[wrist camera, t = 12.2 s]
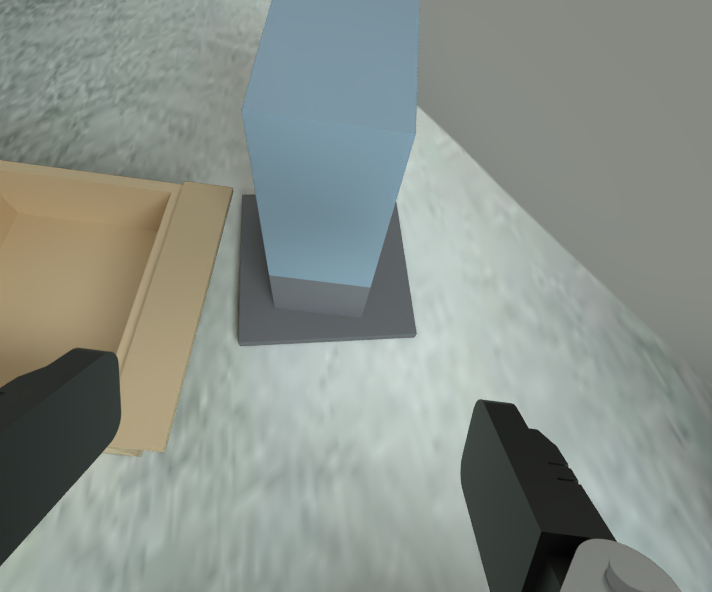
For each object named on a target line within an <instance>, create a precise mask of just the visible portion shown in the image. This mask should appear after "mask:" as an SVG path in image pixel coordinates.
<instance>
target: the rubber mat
mask: <svg viewBox="0 0 712 592" xmlns="http://www.w3.org/2000/svg"><path fill="white" fill-rule="evenodd" d="M416 334H417V333H416V326H415V320H414V313H413V307H412V301H411V294H410V288H409V281H408V275H407V268H406V262H405V255H404V249H403V243H402V236H401V230H400V223H399V217H398V210H397V204H396V202H395V206H394V209H393V213H392V216H391V219H390V223H389V226H388V230H387V233H386V236H385V240H384V243H383V247H382V250H381V253H380V257H379V260H378V264H377V267H376V270H375V274H374V277H373V281H372V284H371V287H370V291H369V294H368V298H367V301H366V304H365V308H364V311H363V315H362V318H355V317H347V316H338V315H330V314H321V313H313V312H304V311H296V310H287V309H279V308H275V307H274V301H273V295H272V289H271V283H270V277H269V271H268V265H267V259H266V253H265V247H264V241H263V235H262V230H261V224H260V218H259V212H258V206H257V200H256V195H242V223H241V262H240V300H239V339H238V343H239V345H240V346H253V345H272V344H292V343H312V342H332V341H352V340H371V339H391V338H411V337H415V336H416Z"/></svg>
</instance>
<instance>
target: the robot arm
mask: <svg viewBox="0 0 712 592" xmlns="http://www.w3.org/2000/svg"><path fill="white" fill-rule="evenodd" d="M120 421H121V396H120V377H119V362H118V358H117V356H116V354H115V353H114V352H110V351H102V350H94V349H86V348H74V349H72V350H70V351H69V352H67V353H66V354H64V355H63V356H61V357H60V358H58V359H57V360H55V361H54V362H52V363H51V364H49V365H47V366H45V367H43V368H40V369H37V370H35V371H32V372H29V373H27V374H24V375H21V376H19V377H16V378H15V379H13V380H12V381H10V382H8V383H7V384H5V385H4V386H2V387H1V388H0V566H1V565H2V564H3V563H4V562H5V560H6V559H7V558H8V557H9V556H10V555H11V554H12V553H13V551H14V550H15V549H16V548H17V547H18V546H19V545H20V544H21V543H22V541H23V540H24V539H25V538H26V537H27V536H28V535H29V534H30V533H31V531H32V530H33V529H34V528H35V527H36V526H37V525H38V524H39V522H40V521H41V520H42V519H43V518H44V517H45V516H46V515H47V514H48V512H49V511H50V510H51V509H52V508H53V507H54V506H55V505H56V503H57V502H58V501H59V500H60V499H61V498H62V497H63V496H64V495H65V493H66V492H67V491H68V490H69V489H70V488H71V487H72V486H73V485H74V483H75V482H76V481H77V480H78V479H79V478H80V477H81V476H82V474H83V473H84V472H85V471H86V470H87V469H88V468H89V467H90V466H91V464H92V463H93V462H94V461H95V460H96V459H97V458H98V457H99V455H100V454H101V453H102V452H103V451H104V450H105V449H106V448H107V447H108V445H109V444H110V443H111V442H112V441H113V439H114V437H115V435H116V433H117V431H118V428H119V425H120ZM461 485H462V489H463V493H464V497H465V500H466V504H467V508H468V512H469V515H470V519H471V523H472V526H473V530H474V534H475V537H476V541H477V545H478V549H479V552H480V556H481V560H482V563H483V567H484V571H485V574H486V578H487V582H488V586H489V589H490V592H681V590H680V589H679V588H678V586H677V585H676V583H675V582H674V581H673V580H672V579H671V577H670V576H669V575H668V574H667V573H666V572H665V571H664V570H663V569H662V568H660V567H659V566H658V565H657V564H656V563H654V562H653V561H652V560H650V559H649V558H647V557H646V556H645V555H643V554H641V553H640V552H638V551H636V550H634V549H632V548H630V547H628V546H626V545H623V544H621V543H618V542H617V541H616V540H615V538H614V536H613V535H612V533H611V532H610V530H609V529H608V527H607V525H606V524H605V522H604V521H603V519H602V517H601V516H600V514H599V513H598V511H597V509H596V508H595V506H594V505H593V503H592V502H591V500H590V498H589V497H588V495H587V494H586V492H585V490H584V489H583V487H582V486H581V485H579V484H578V479H577V478H576V476H575V475H574V473H573V471H572V470H571V469H570V468H568V463H567V462H566V460H565V459H564V457H563V456H562V454H561V452H560V451H559V449H558V448H557V446H556V445H555V444H553V443H552V442H551V441H550V440H549V439H548V438H546V437H545V436H544V435H543V434H542V433H541V432H540V431H538V430H536V429H529V428H528V427H527V425H526V423H525V421H524V420H523V418H522V416H521V414H520V412H519V411H518V409H517V407H516V406H515V405H514V404H512V403H505V402H497V401H489V400H481V399H480V400H478V401H477V402H476V404H475V406H474V410H473V414H472V418H471V422H470V426H469V430H468V434H467V439H466V443H465V447H464V451H463V455H462V460H461Z"/></svg>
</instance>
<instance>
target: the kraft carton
mask: <svg viewBox="0 0 712 592" xmlns="http://www.w3.org/2000/svg"><path fill="white" fill-rule="evenodd" d="M232 195H233V188H232V187H225V186H217V185H210V184H202V183H195V182H187V181H184V184H176V183H168V182H160V181H153V180H145V179H138V178H130V177H123V176H115V175H108V174H100V173H93V172H85V171H78V170H70V169H62V168H55V167H47V166H40V165H32V164H25V163H17V162H10V161H2V160H0V388H1V387H2V386H4V385H5V384H7V383H8V382H10V381H12V380H13V379H15V378H16V377H19V376H21V375H24V374H27V373H29V372H32V371H35V370H37V369H40V368H43V367H45V366H47V365H49V364H51V363H52V362H54V361H55V360H57V359H58V358H60V357H61V356H63V355H64V354H66V353H67V352H69V351H70V350H72V349H74V348H86V349H94V350H102V351H110V352H114V353H115V354H116V356H117V358H118V362H119V377H120V396H121V421H120V425H119V428H118V431H117V433H116V435H115V437H114V439H113V441H112V442H111V443H110V444H109V445H108V447H107V448H106V449H105V450H104V451H103V452H102V453H107V454H117V455H128V456H138V457H141V455H142V451H143V450H147V451H157V452H165V451H166V447H167V443H168V440H169V436H170V432H171V428H172V424H173V420H174V417H175V413H176V409H177V405H178V401H179V397H180V394H181V390H182V386H183V382H184V378H185V375H186V371H187V367H188V363H189V359H190V355H191V352H192V348H193V344H194V340H195V336H196V332H197V329H198V325H199V321H200V317H201V313H202V309H203V306H204V302H205V298H206V294H207V290H208V287H209V283H210V279H211V275H212V271H213V267H214V264H215V260H216V256H217V252H218V248H219V244H220V241H221V237H222V233H223V229H224V225H225V221H226V218H227V214H228V210H229V206H230V202H231V198H232Z"/></svg>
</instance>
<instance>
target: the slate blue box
mask: <svg viewBox="0 0 712 592" xmlns="http://www.w3.org/2000/svg"><path fill="white" fill-rule="evenodd" d="M419 18H420V0H272V1H271V5H270V9H269V12H268V16H267V19H266V23H265V27H264V30H263V34H262V37H261V41H260V45H259V48H258V52H257V55H256V59H255V63H254V66H253V70H252V73H251V77H250V81H249V84H248V88H247V91H246V95H245V99H244V102H243V106H242V109H241V110H242V116H243V122H244V128H245V134H246V140H247V146H248V152H249V158H250V164H251V170H252V176H253V182H254V188H255V194H256V200H257V206H258V212H259V218H260V224H261V230H262V235H263V241H264V247H265V253H266V259H267V265H268V271H269V277H270V283H271V289H272V295H273V301H274V307H275V308H279V309H287V310H296V311H304V312H313V313H321V314H330V315H338V316H347V317H355V318H362V315H363V311H364V308H365V304H366V301H367V298H368V294H369V291H370V287H371V284H372V281H373V277H374V274H375V270H376V267H377V264H378V260H379V257H380V253H381V250H382V247H383V243H384V240H385V236H386V233H387V230H388V226H389V223H390V219H391V216H392V213H393V209H394V206H395V202H396V199H397V196H398V192H399V189H400V185H401V182H402V179H403V175H404V172H405V168H406V165H407V162H408V158H409V155H410V151H411V148H412V145H413V141H414V138H415V134H416V108H417V77H418V49H419Z"/></svg>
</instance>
